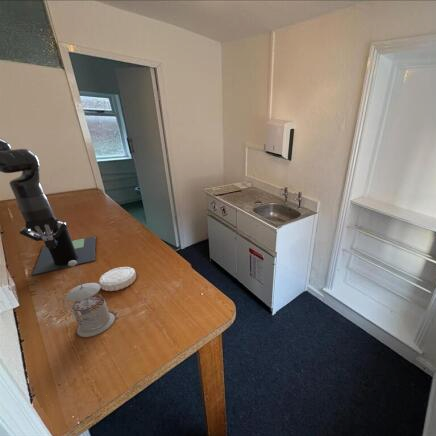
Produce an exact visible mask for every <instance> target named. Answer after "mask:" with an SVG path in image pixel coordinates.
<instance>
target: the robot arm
mask: <svg viewBox="0 0 436 436" xmlns="http://www.w3.org/2000/svg"><path fill="white" fill-rule="evenodd" d="M0 173H4V174H13V173H21V174H20V176H19V177H16V178H13V179H11V180H10V181H9V186H10V189H11V191H12V194H13V196H14V197H15V201H16V204H17V207H18V209H19V211H20V213H21V215H22V218H23V220H24V222H25V225H24V227H23V228H21V229H20V231H19V235H22V236H24V237H26V238H29V239H31V240H33V241H36V242H39V241H40V242H41V241H42V242H43V243H44V246H46V247H47V248H49V249H52V248H55V247H56V246H57V242H56V240H55V238H57V237H59V236H60V234H61V233H62V231H63V230H64V228H65V227H66V226H67V224H68V223H67V222H66V221H63V222H62V221H60V220H59V219H58V218H57V217H55V214H54V212H53V209H52V207H51V205H50V202H49V200H48V197H47V196H46V194H45V192H44V190H43V186H42V185H41V182H40V162H39V159H38V157H37V155H36V154H35V153H34V152H33V151H32V150H29V149H26V148H15V149H12V148H11V145H10V144H9V143H8V142H7V141H6V140H5V139H3V138H1V137H0ZM56 225H58V227H59V229H58V230H57V232H56V233H55V234H53V229H54V228H55V226H56ZM46 232H47V234H46ZM47 235H48V236H47Z"/></svg>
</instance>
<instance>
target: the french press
mask: <svg viewBox="0 0 436 436" xmlns="http://www.w3.org/2000/svg"><path fill="white" fill-rule="evenodd" d="M76 264H77V262H76V261H75V260H71V261H69V262H68V266H71V267H73V269H74V271H75V274H76V278H77V279H78V282H79V285H77V286H75V287H74V288H72V289H71V290H70V291H68V292H67V294H66V295H65V298H64V299H63V300H62V303H61V305H62V307H63V310H65V311H66V312H67V313H68V314H70V315H73V316H74V318H75V320H76V322H77V325H78V327H77V330H76V334H77V335H78V336H79V337H83V338H90V337H94V336H97V335H99V334H101V333H103V332H104V331H106V330H107V329H109V328H110V327H111V326H112V325H113V324H114V322H115V318H116V317H115V315H114V314H113V313H112V312H110V311H109V308H108V305H107V302H106V300H105V298H104V297H103V295H102V294H100V293H99V292H100V290H101V286H100V284H99V282H98V283H97V282H88V283H87V282H86V283H82V282H81V279H80V277H79V275H78V274H79V273H78V272H77V270H76V267H75V266H77V265H76ZM74 265H75V266H74ZM65 301H66V303H67V304H68V306H69V307H70V308H71V309H72V312H71V311H69V310H68V309H67V308H66V306H65ZM70 302H74V303H73V304H72V305H71V304H70ZM79 312H80V314H79Z"/></svg>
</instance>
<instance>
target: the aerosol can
mask: <svg viewBox="0 0 436 436" xmlns="http://www.w3.org/2000/svg"><path fill="white" fill-rule="evenodd" d="M58 229H59V227H58V225H56V226H55V228H54V229H53V234H55V233H56V232H57V230H58ZM46 234H47V232H46ZM47 236H48V235H47ZM55 240H56V242H57V246H56V247H55V248H52V249H49V248H48V249H49V251H50V253H51V256H52V258H53V260H54V264H55V265H66V264H68V262H69V261H71V260H75V261H76V260H77V259H78V255H77V254H76V251H75V249H74V246H73V243H72V241H73V240H72V238H71V235H70V233H69V230H68V226H67V225H66V227H65V228H64V230H63V231H62V233H61V234H60V236H59V237H57V238H55Z"/></svg>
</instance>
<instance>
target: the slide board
mask: <svg viewBox="0 0 436 436" xmlns="http://www.w3.org/2000/svg"><path fill="white" fill-rule="evenodd" d="M71 241H72V243H73V246H74V249H75V251H76V254H77V255H78V259H77V260H76V262H77V264H76V265H74V267H75V266H79V265H83V264H88V263H91V262H95V261H96V236H89V237H84V238H79V239H74V240H71ZM70 267H72V266H68V264H66V265H55V264H54V260H53V258H52V256H51V253H50V251H49V249H48V248H47V247H46V245H43V246H42V248H41V251H40V253H39V256H38V259H37V262H36V264H35V267H34V269H33V272H32V276H36V275H41V274H42V275H43V274H45V273H49V272H55V271H57V270H62V269H63V270H64V269H67V268H70Z"/></svg>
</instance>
